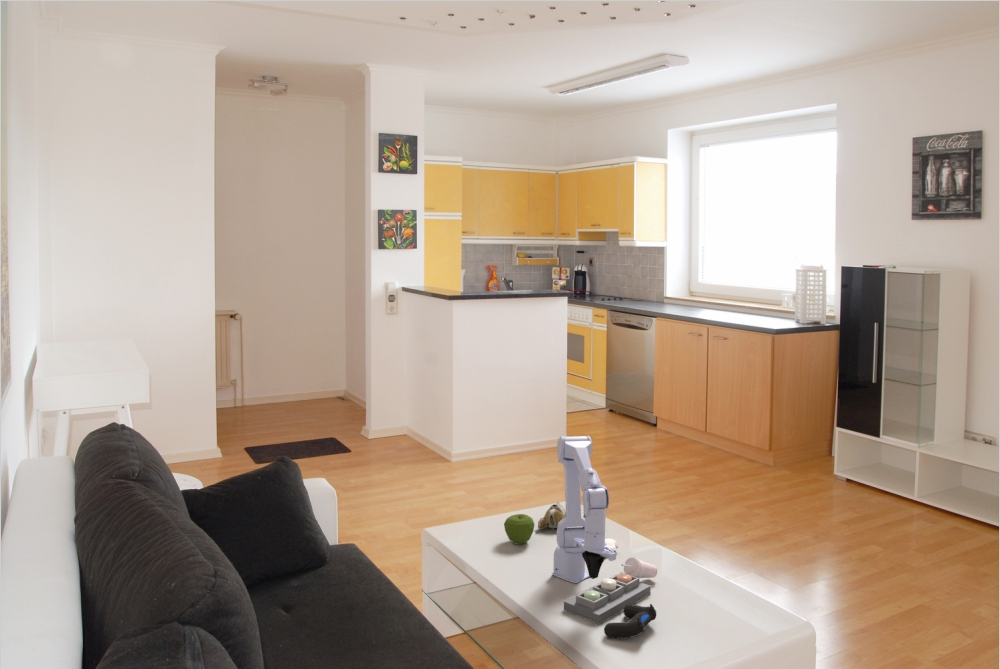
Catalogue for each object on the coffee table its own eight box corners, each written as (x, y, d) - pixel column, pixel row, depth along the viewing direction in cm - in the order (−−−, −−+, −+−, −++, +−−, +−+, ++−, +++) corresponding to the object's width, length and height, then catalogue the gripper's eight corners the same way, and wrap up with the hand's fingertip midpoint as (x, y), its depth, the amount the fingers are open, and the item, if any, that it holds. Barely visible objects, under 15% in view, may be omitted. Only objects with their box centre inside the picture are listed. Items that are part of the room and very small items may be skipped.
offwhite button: (597, 588, 223) (597, 581, 223) (606, 583, 226) (606, 577, 226) (610, 593, 220) (610, 586, 220) (619, 588, 223) (619, 581, 223)
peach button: (613, 583, 229) (613, 577, 229) (621, 579, 232) (622, 572, 232) (626, 587, 226) (626, 581, 226) (634, 583, 229) (634, 576, 229)
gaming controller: (609, 649, 202) (641, 639, 197) (599, 628, 203) (630, 617, 198) (633, 624, 216) (663, 613, 211) (624, 604, 217) (654, 593, 212)
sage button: (580, 600, 217) (580, 594, 217) (590, 595, 221) (590, 589, 220) (593, 605, 214) (593, 598, 214) (602, 600, 218) (603, 593, 217)
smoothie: (664, 570, 236) (632, 565, 229) (653, 586, 238) (621, 582, 230) (652, 556, 242) (620, 550, 234) (641, 572, 243) (610, 567, 235)
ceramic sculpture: (572, 498, 290) (565, 514, 275) (572, 521, 291) (565, 537, 277) (544, 496, 292) (535, 511, 278) (544, 518, 294) (536, 534, 279)
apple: (515, 534, 277) (515, 507, 276) (540, 541, 271) (540, 513, 270) (497, 543, 268) (498, 515, 267) (523, 550, 262) (523, 521, 261)
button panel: (563, 609, 218) (564, 594, 218) (616, 582, 237) (616, 567, 237) (598, 623, 210) (599, 608, 210) (650, 593, 229) (650, 579, 229)
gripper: (624, 534, 213) (622, 582, 215) (586, 520, 225) (585, 565, 226) (606, 540, 209) (605, 589, 210) (568, 525, 220) (567, 571, 222)
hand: (593, 577), depth 218 cm, fingers closed
